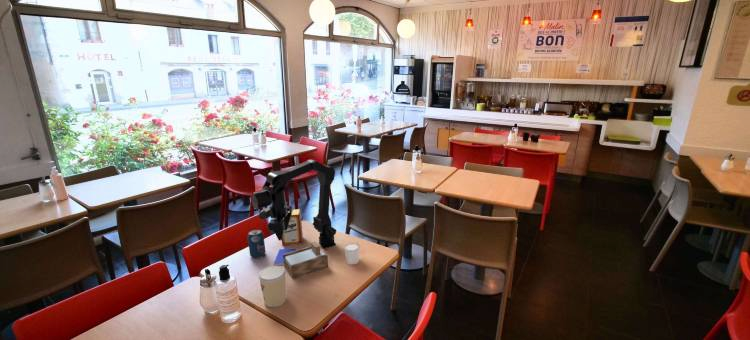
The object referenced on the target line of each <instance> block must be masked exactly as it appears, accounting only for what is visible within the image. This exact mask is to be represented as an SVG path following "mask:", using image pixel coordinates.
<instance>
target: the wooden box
mask: <svg viewBox="0 0 750 340" xmlns="http://www.w3.org/2000/svg"><path fill="white" fill-rule="evenodd" d="M308 249H311V245H310V246H306V247H303V248H299V249H297V250H296V251H293V252H289V253H286V254H283V261H284V265H283V268H284V270H285V271H286V272H287V273H288V275H289V276H290V278H291V279H292V280H294V279H298V278H301V277H304V276H306V275H308V274H313V273H315V272H318V271H322V270H323V269H326V268H327V269H328V268H329V256H328V255H329V254H328V253H324V254H325V255H322V256H319V257H315V258H312V259H309V260H306V261H303V262H300V263H297V264H293V265H291V266H290V265H289V263H288V262H287V260H286V259H285V256H288V255H292V254H295V253H298V252H302V251H305V250H308Z"/></svg>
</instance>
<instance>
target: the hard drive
mask: <svg viewBox="0 0 750 340" xmlns="http://www.w3.org/2000/svg"><path fill="white" fill-rule="evenodd" d="M296 250H298V249H297V248H282V249H278V252H277V254H276V256H275V259H274V261H273V264H272V266H284V261H283V254H286V253H289V252H293V251H296Z"/></svg>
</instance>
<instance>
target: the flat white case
mask: <svg viewBox="0 0 750 340" xmlns="http://www.w3.org/2000/svg"><path fill="white" fill-rule="evenodd" d="M310 246H311V249H308V250H305V251H302V252H298V253H295V254H292V255H288V256H285V259H286V260H287V262H288V263H289V265H290V266H291V265H293V264H297V263H300V262H303V261H306V260H309V259H312V258H315V257H319V256H322V255H325V254H326V253H325V252H323V250H321V245H320V244H319V243H317V241H312V242H311V243H310Z"/></svg>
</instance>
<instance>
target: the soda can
mask: <svg viewBox="0 0 750 340" xmlns="http://www.w3.org/2000/svg"><path fill="white" fill-rule="evenodd" d="M247 242H248V243H247V244H248V249H249V250H248V252H249V256H250V257H251V258H252V259H260V258H263V257H264V256H265V255H266V245H265V238H264V232H263V231H262V230H261V229H259V228H254V229H251V230H249V231H248V234H247Z"/></svg>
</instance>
